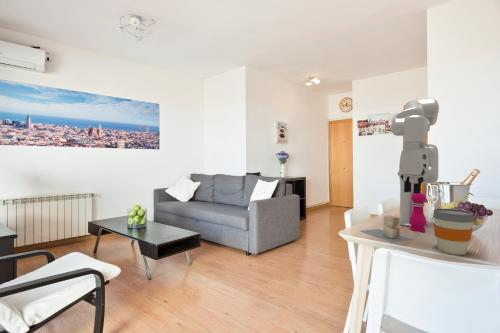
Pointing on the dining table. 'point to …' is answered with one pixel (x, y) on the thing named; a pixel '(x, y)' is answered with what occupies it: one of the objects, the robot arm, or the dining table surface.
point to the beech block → (391, 227)
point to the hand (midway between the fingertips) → (412, 192)
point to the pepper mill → (418, 213)
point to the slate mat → (379, 234)
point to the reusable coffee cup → (453, 230)
